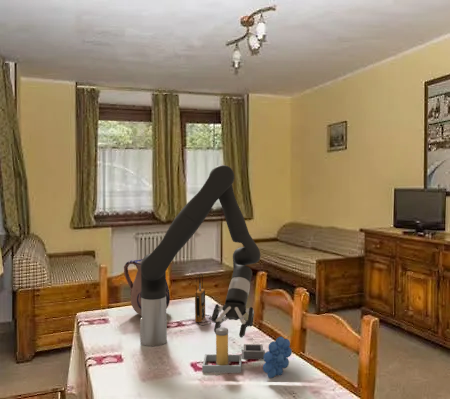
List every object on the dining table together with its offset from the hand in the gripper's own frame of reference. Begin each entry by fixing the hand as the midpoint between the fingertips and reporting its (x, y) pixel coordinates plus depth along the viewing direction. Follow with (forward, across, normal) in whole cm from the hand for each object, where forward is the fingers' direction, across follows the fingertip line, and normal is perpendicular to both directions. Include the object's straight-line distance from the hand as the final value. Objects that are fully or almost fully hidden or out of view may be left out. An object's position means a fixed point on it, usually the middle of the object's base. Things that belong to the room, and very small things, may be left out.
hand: (228, 335), depth 142 cm
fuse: (+10, 0, +1) cm, 10 cm away
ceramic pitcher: (-20, -52, +33) cm, 64 cm away
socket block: (+2, +7, +10) cm, 12 cm away
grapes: (+11, +17, +2) cm, 20 cm away
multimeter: (-20, -22, +33) cm, 44 cm away
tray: (+11, 0, +1) cm, 11 cm away
